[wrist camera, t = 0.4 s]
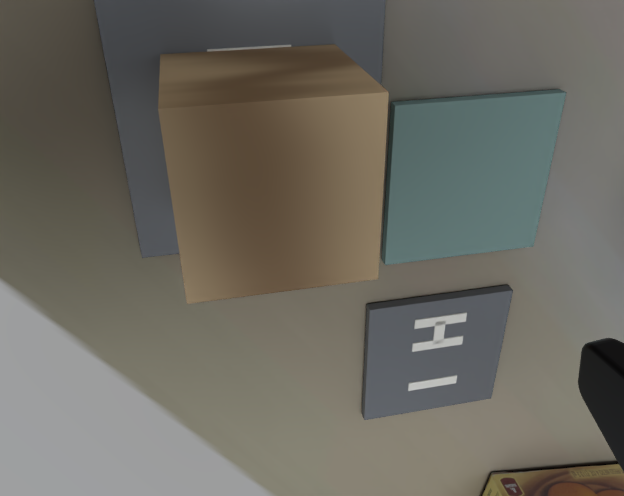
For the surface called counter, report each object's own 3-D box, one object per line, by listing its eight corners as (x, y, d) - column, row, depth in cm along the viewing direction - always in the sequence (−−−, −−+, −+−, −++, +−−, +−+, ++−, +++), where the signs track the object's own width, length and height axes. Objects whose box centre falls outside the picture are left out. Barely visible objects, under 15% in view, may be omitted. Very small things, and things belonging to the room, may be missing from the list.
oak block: (334, 44, 17) (388, 91, 13) (333, 197, 20) (377, 279, 16) (160, 54, 16) (157, 108, 12) (182, 213, 19) (186, 303, 15)
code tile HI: (508, 284, 24) (513, 290, 24) (487, 392, 27) (491, 399, 27) (366, 304, 23) (370, 311, 23) (361, 413, 26) (364, 421, 26)
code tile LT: (381, -16, 17) (386, -14, 17) (370, 225, 21) (374, 231, 21) (94, -4, 16) (93, -2, 15) (142, 251, 20) (141, 258, 19)
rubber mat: (559, 88, 20) (566, 92, 20) (527, 241, 23) (533, 246, 23) (391, 102, 19) (395, 105, 19) (381, 259, 22) (385, 265, 22)
